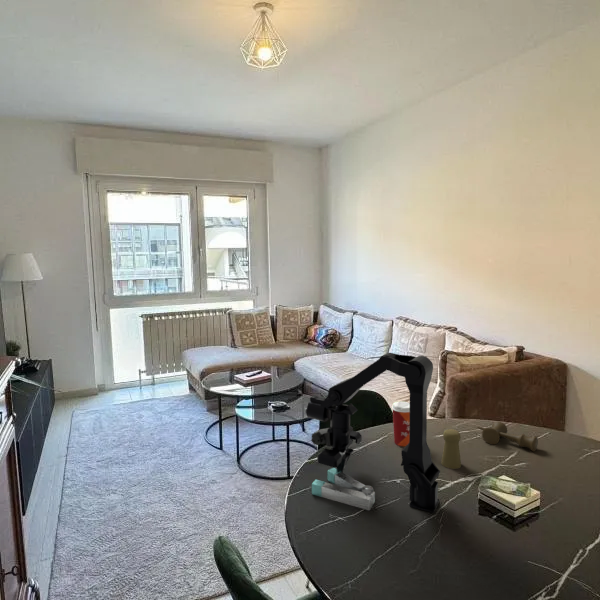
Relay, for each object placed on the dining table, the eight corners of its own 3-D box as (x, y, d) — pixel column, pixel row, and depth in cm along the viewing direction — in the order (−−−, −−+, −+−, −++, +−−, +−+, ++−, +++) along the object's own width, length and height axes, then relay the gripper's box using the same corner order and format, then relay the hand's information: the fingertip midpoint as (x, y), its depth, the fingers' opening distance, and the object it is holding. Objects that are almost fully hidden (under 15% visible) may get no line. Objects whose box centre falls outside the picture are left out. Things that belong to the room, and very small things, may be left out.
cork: (458, 459, 144) (459, 427, 142) (463, 469, 138) (464, 435, 136) (439, 459, 144) (440, 426, 143) (443, 468, 138) (444, 434, 137)
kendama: (531, 457, 146) (471, 438, 159) (540, 448, 152) (481, 431, 166) (533, 440, 145) (472, 422, 158) (542, 431, 152) (483, 415, 165)
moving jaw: (365, 495, 124) (365, 485, 124) (359, 499, 122) (359, 488, 122) (334, 477, 134) (334, 467, 134) (327, 480, 133) (327, 470, 132)
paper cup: (408, 449, 151) (408, 410, 150) (387, 444, 156) (387, 405, 154) (417, 441, 158) (418, 403, 156) (397, 436, 162) (397, 399, 160)
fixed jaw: (376, 499, 122) (376, 487, 122) (369, 510, 117) (369, 498, 116) (321, 484, 130) (321, 473, 130) (311, 494, 125) (311, 482, 125)
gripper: (330, 408, 143) (330, 453, 146) (300, 431, 127) (301, 481, 130) (362, 415, 138) (362, 462, 140) (335, 440, 122) (335, 492, 124)
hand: (340, 473), depth 134 cm, fingers closed
